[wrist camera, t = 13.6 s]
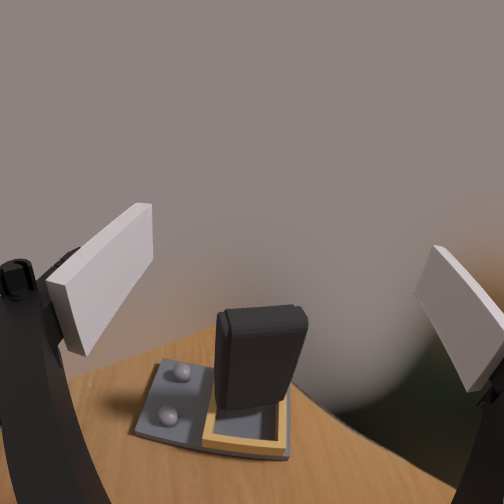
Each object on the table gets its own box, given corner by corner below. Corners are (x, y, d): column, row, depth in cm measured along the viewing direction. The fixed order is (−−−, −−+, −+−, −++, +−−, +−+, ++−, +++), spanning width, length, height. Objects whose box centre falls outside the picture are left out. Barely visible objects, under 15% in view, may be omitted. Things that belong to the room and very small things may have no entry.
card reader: (277, 382, 39) (299, 298, 32) (286, 405, 36) (314, 321, 29) (212, 390, 37) (216, 303, 30) (217, 415, 33) (223, 330, 27)
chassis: (287, 383, 44) (292, 367, 42) (287, 460, 32) (294, 448, 30) (163, 364, 44) (161, 347, 43) (136, 435, 32) (130, 421, 30)
